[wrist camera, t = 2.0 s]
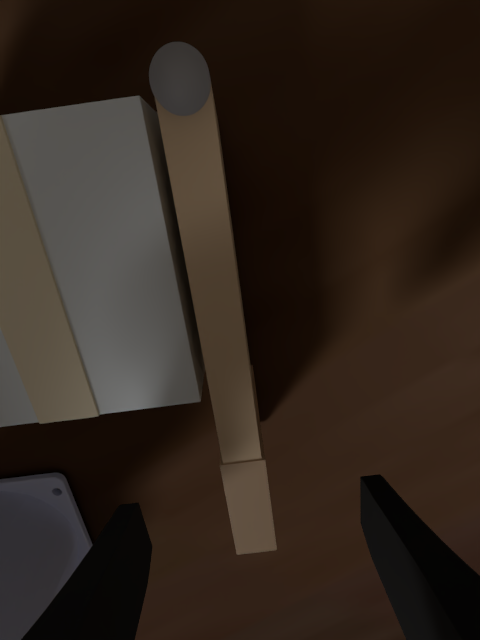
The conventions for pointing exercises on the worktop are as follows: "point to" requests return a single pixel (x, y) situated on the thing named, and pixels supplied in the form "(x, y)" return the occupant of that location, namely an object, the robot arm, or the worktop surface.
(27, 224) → the carton
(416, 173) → the worktop surface
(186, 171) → the flap
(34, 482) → the robot arm
